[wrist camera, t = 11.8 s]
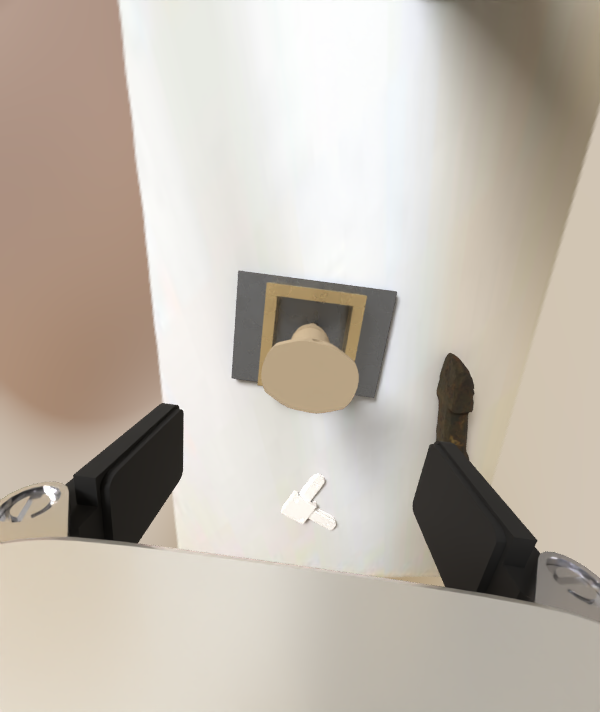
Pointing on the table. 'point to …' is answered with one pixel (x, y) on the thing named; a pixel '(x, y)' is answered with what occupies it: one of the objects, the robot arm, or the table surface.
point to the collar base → (310, 305)
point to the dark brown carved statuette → (454, 402)
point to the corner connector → (308, 504)
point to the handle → (310, 372)
